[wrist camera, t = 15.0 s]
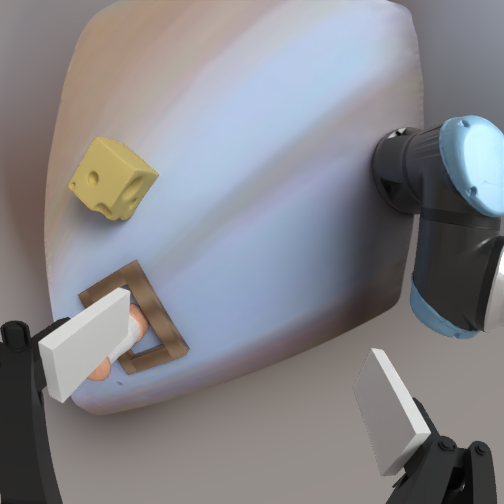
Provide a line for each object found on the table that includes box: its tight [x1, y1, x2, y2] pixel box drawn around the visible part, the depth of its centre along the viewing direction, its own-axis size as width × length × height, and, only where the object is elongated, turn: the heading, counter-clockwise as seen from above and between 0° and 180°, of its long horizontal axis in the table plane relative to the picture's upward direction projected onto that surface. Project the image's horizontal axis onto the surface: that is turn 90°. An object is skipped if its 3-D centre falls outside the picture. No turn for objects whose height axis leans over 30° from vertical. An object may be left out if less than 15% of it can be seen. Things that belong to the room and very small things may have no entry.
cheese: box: [68, 137, 159, 221], centre depth 43 cm, size 10×11×10 cm
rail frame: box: [78, 260, 189, 375], centre depth 52 cm, size 20×16×2 cm
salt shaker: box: [87, 304, 149, 381], centre depth 44 cm, size 7×7×19 cm
